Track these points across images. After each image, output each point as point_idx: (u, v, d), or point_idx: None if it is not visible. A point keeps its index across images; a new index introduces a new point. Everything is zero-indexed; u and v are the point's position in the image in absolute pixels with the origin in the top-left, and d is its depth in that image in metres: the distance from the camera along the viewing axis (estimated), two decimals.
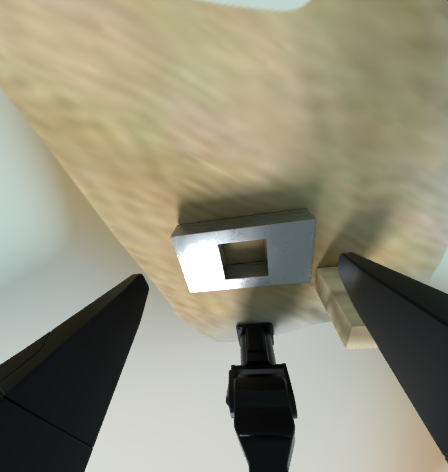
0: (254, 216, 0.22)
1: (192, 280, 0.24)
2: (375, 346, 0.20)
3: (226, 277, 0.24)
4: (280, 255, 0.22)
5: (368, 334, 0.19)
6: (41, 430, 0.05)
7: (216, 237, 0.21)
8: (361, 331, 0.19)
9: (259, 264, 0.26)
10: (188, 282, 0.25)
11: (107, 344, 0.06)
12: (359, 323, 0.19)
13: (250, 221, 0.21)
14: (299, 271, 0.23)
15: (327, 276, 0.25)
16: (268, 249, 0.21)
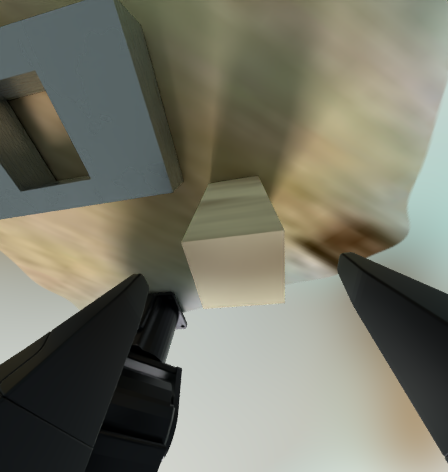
0: None
1: None
2: (262, 301, 0.09)
3: (28, 189, 0.13)
4: (88, 122, 0.11)
5: (231, 266, 0.08)
6: (41, 430, 0.05)
7: None
8: (210, 257, 0.08)
9: None
10: None
11: (107, 344, 0.06)
12: (203, 235, 0.08)
13: None
14: (143, 166, 0.12)
15: (214, 188, 0.13)
16: (55, 104, 0.10)
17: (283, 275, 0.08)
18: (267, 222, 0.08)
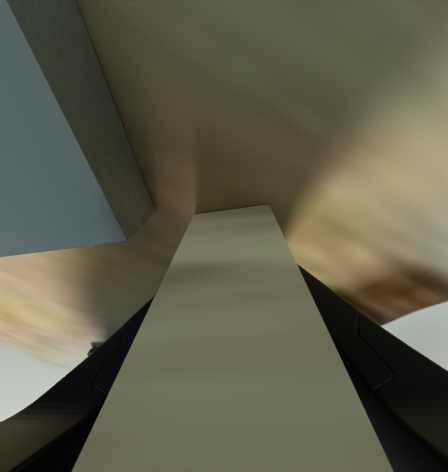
0: None
1: None
2: None
3: None
4: None
5: None
6: None
7: None
8: None
9: None
10: None
11: None
12: None
13: None
14: (68, 200, 0.07)
15: (199, 228, 0.08)
16: None
17: None
18: (334, 434, 0.02)
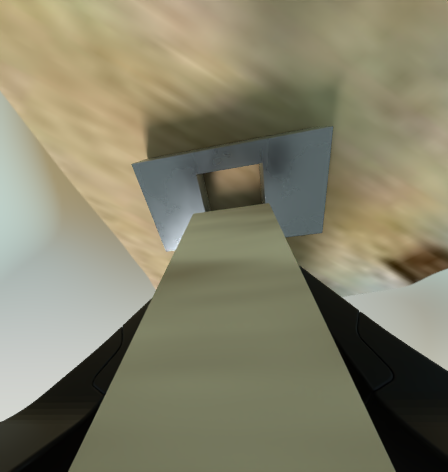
0: (246, 140, 0.17)
1: (166, 234, 0.19)
2: None
3: None
4: (283, 191, 0.16)
5: None
6: None
7: (194, 163, 0.15)
8: None
9: None
10: (162, 236, 0.19)
11: None
12: None
13: (240, 142, 0.15)
14: (308, 217, 0.17)
15: (199, 227, 0.08)
16: (266, 181, 0.16)
17: None
18: (335, 432, 0.02)
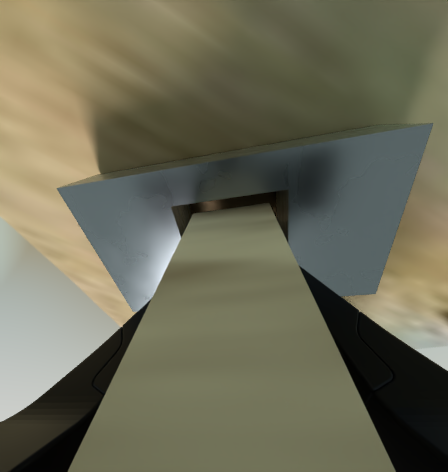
0: (257, 146, 0.10)
1: (131, 290, 0.12)
2: None
3: None
4: (319, 234, 0.09)
5: None
6: None
7: (165, 187, 0.09)
8: None
9: None
10: (125, 293, 0.12)
11: None
12: None
13: (248, 151, 0.09)
14: (356, 272, 0.10)
15: (199, 227, 0.08)
16: (292, 219, 0.09)
17: None
18: (335, 433, 0.02)
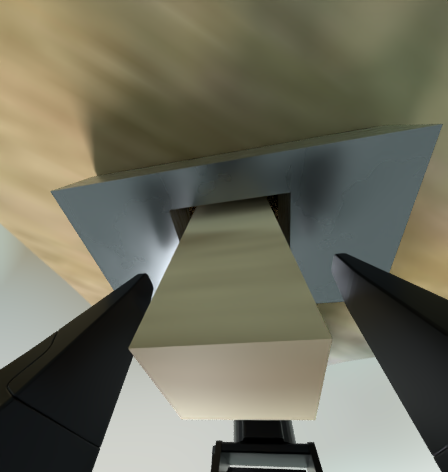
0: (258, 148, 0.10)
1: None
2: (277, 416, 0.05)
3: None
4: (322, 238, 0.09)
5: (225, 380, 0.04)
6: (50, 430, 0.05)
7: (163, 190, 0.08)
8: (187, 368, 0.04)
9: None
10: None
11: (113, 344, 0.06)
12: (172, 330, 0.04)
13: (249, 153, 0.09)
14: None
15: (205, 210, 0.10)
16: (294, 222, 0.09)
17: (318, 393, 0.04)
18: (292, 304, 0.04)
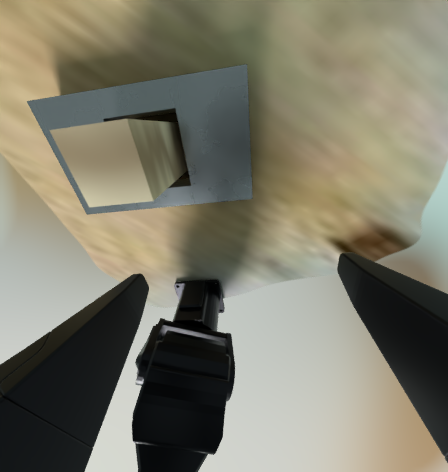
0: None
1: None
2: (134, 198, 0.10)
3: None
4: (203, 145, 0.14)
5: (97, 158, 0.09)
6: (41, 431, 0.05)
7: (98, 103, 0.13)
8: (78, 147, 0.09)
9: (188, 179, 0.18)
10: (79, 196, 0.17)
11: (107, 344, 0.06)
12: (71, 127, 0.09)
13: None
14: (234, 178, 0.15)
15: None
16: (182, 131, 0.14)
17: (142, 169, 0.10)
18: None
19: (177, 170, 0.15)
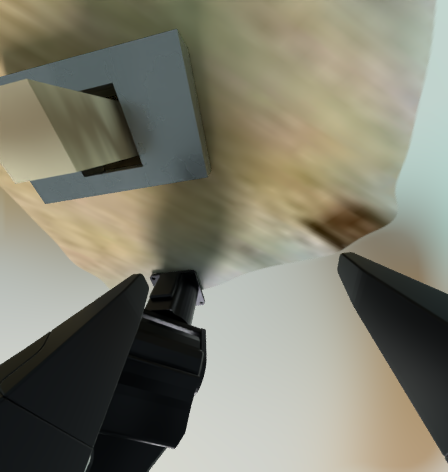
0: None
1: (38, 181, 0.17)
2: (57, 170, 0.10)
3: (89, 175, 0.17)
4: (147, 121, 0.14)
5: (9, 126, 0.09)
6: (41, 430, 0.05)
7: None
8: None
9: None
10: (34, 184, 0.17)
11: (107, 344, 0.06)
12: None
13: None
14: (185, 156, 0.15)
15: None
16: (124, 108, 0.13)
17: (56, 136, 0.09)
18: None
19: (125, 150, 0.15)
